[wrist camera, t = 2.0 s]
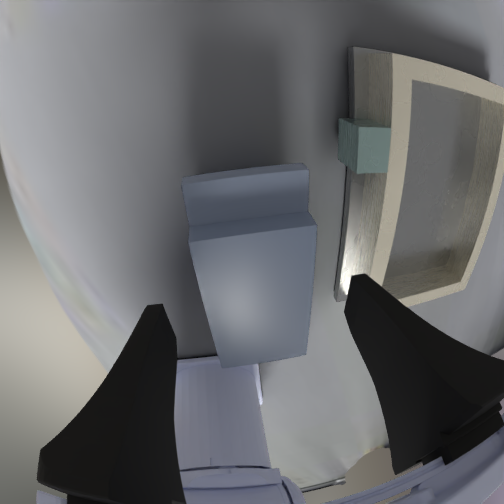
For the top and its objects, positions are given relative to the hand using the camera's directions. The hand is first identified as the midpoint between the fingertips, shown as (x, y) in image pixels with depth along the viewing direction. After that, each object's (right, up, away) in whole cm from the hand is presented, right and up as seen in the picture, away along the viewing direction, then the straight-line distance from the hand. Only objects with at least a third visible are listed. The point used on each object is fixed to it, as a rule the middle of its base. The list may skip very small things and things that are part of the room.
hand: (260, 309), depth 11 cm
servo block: (-1, +3, +5) cm, 5 cm away
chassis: (+10, +6, +4) cm, 12 cm away
